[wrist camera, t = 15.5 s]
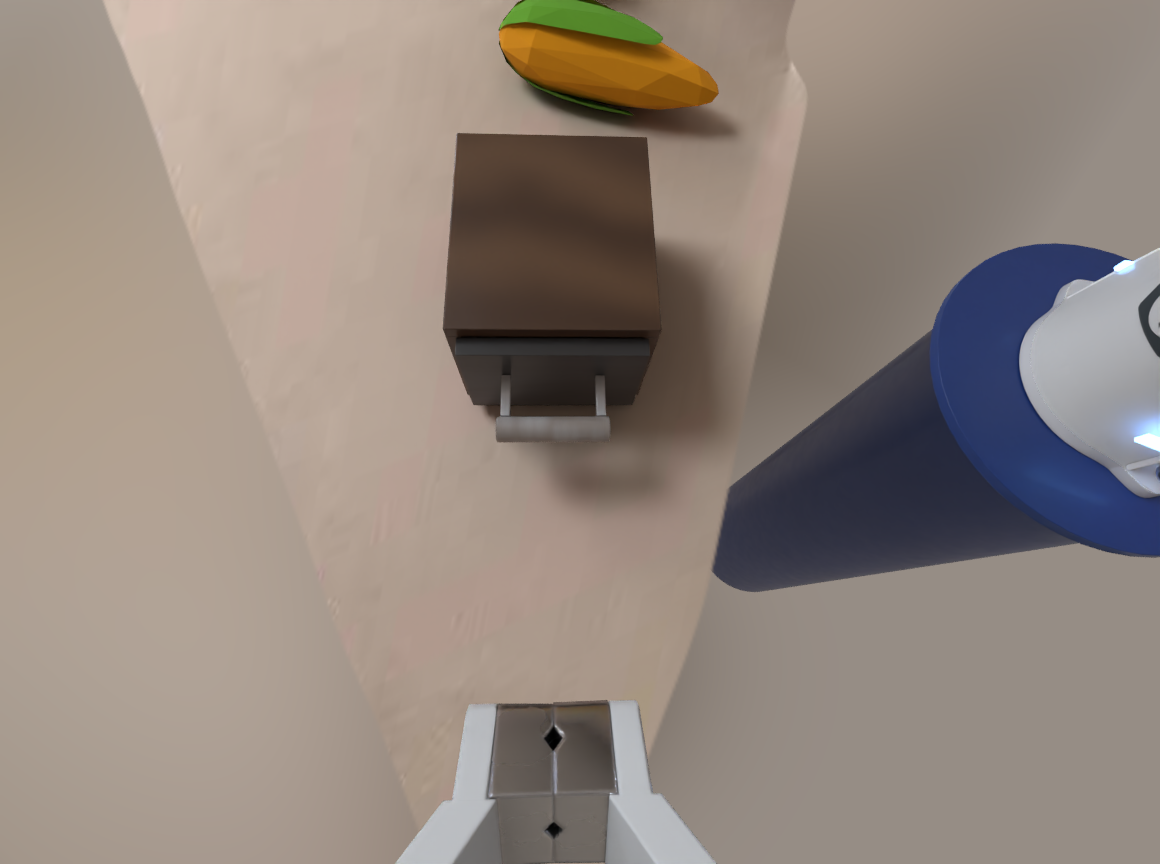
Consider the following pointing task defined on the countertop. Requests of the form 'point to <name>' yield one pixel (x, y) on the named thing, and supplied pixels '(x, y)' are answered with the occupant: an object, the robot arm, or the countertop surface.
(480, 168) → the cabinet
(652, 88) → the corn
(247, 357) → the countertop surface
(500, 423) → the drawer
